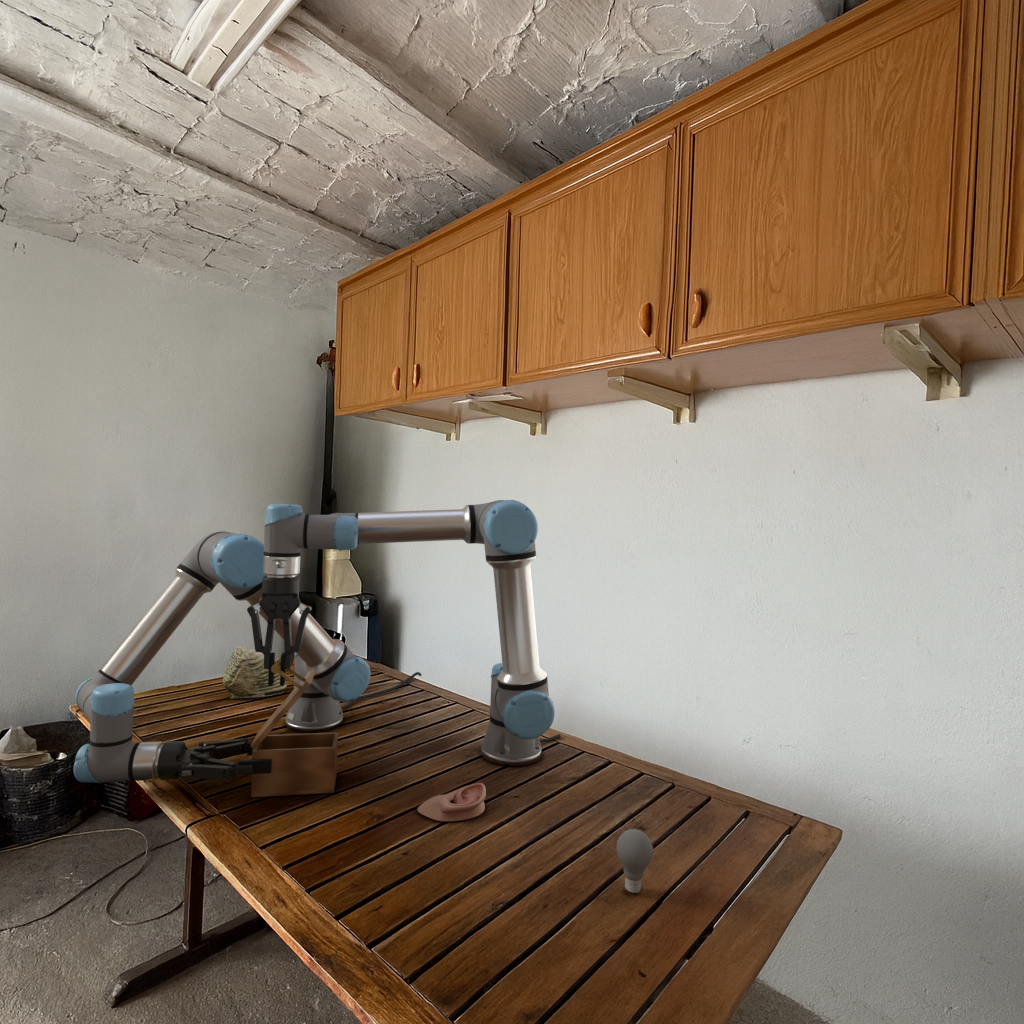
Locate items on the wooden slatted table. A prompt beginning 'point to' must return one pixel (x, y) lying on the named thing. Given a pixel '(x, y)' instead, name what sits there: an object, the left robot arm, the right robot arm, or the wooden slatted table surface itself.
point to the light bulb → (634, 857)
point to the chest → (297, 764)
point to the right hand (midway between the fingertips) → (276, 683)
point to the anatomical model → (456, 804)
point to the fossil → (249, 675)
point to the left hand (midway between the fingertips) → (274, 756)
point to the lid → (287, 702)
